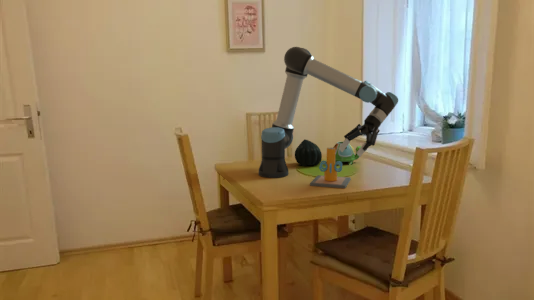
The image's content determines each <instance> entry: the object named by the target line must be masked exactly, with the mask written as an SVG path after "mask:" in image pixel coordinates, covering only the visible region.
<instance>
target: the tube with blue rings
mask: <svg viewBox="0 0 534 300" xmlns="http://www.w3.org/2000/svg"><path fill="white" fill-rule="evenodd" d="M335 151H336V148H333V147H327V148H326V160H321V162H320V163H319V166H318V167H319V171H320V172H323V176H324V180H326V181H336V180H337V177H338V173H341V172H342V171H343V162H340V161H337V162H335ZM323 165H325V167H323ZM337 165H338V166H339V167H338V168H337Z"/></svg>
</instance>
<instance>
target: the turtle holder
mask: <svg viewBox="0 0 534 300" xmlns="http://www.w3.org/2000/svg"><path fill="white" fill-rule="evenodd" d="M343 142H344V141H337V142H336V143H335V145H333V147H332V148H336V151H335V163H336V162H337V161H340V162H342V163H344V162H345V163H346V162H348V165H349V164H351V165H353V162H354V161H357V160H359V158H360V157H359V156H358V155H357V151H358V150H359V149H360V148H361V146H362V145H359V146H356V147H355V148H354V146H352V145H351V142H350V143H349V144H348V146H347V147H346V148H345V150H344V151H343V152H341V151H340V150H339V149H338V148H339V147H340V146H341V145H342V143H343Z"/></svg>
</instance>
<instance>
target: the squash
mask: <svg viewBox="0 0 534 300" xmlns="http://www.w3.org/2000/svg"><path fill="white" fill-rule="evenodd" d="M322 154H323V153H322V151H321V149H320V147H319V146H318V145H317V144H316V143H314V142H313V141H310V140H309V139H303V140H302V141H301V142H300V143H299V145H298V146H297V147H296V149H295V150H294V159H295V161H296V163H297V164H298V165H300V166H302V167H307V166H311V165H312V166H314V165H315V166H318V165H320V163H321V161H322V159H323V155H322Z"/></svg>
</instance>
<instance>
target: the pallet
mask: <svg viewBox="0 0 534 300" xmlns="http://www.w3.org/2000/svg"><path fill="white" fill-rule="evenodd" d="M350 181H352V180H351V177H349V176H348V177H347V176H337V180H336V181H326V180H324V175H317V176H315V177H314V178H313V179H312V180H311V181H310V183H309V186H311V187H322V188H334V189H335V188H338V189H346V187H347V186H348V185H349V183H350Z"/></svg>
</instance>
